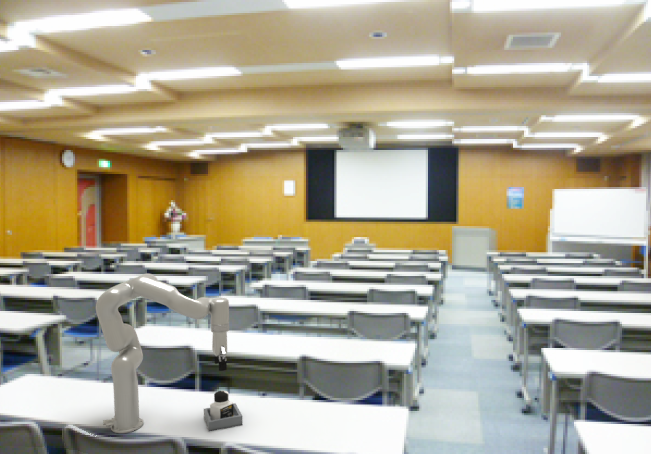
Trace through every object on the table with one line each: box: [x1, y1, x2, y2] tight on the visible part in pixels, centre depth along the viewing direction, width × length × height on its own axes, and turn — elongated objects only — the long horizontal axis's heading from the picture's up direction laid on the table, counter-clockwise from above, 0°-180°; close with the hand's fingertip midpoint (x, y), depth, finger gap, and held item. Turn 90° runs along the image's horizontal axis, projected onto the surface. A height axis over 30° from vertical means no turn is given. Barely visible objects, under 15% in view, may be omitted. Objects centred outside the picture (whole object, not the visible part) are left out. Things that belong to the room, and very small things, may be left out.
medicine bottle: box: [209, 390, 234, 420], centre depth 205 cm, size 7×7×12 cm
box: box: [203, 402, 243, 433], centre depth 205 cm, size 14×14×4 cm
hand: (220, 366), depth 204 cm, fingers open, 9 cm apart
